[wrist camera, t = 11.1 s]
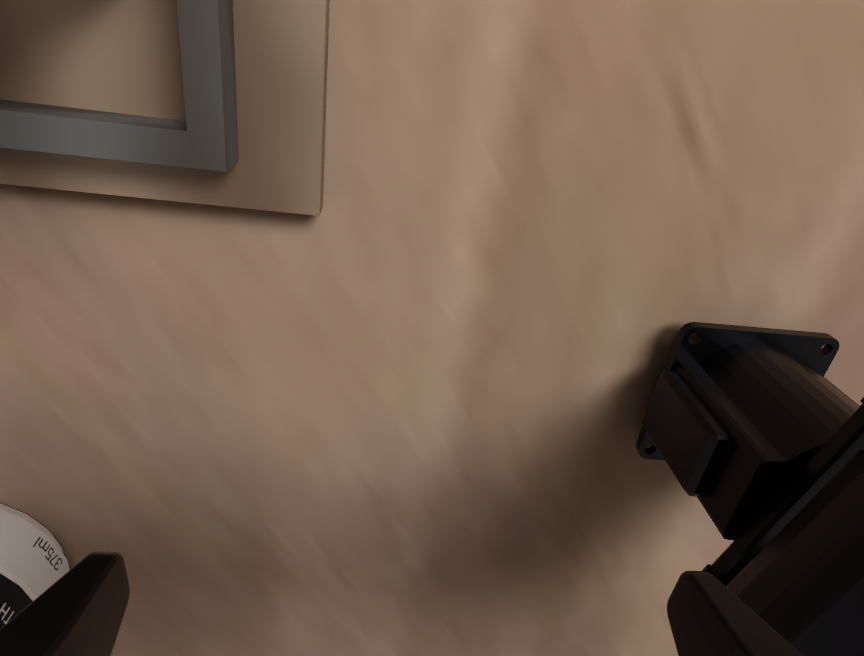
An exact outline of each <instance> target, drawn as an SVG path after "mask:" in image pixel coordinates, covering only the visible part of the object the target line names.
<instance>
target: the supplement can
mask: <svg viewBox="0 0 864 656" xmlns="http://www.w3.org/2000/svg"><path fill="white" fill-rule="evenodd" d="M68 571H69V566H68V561H67V559H66V557H65V556H64V555H63V550H62V547H61V546H60V545H59V543H58V542H57V541H56V539H55V538H54V537H53V535H52V534H51V533H50V531H49V530H48V529H46V528H45V527H44V526H42V525H41V524H39V523H38V522H37V521H35V520H34V519H32V518H31V517H30V516H28V515H27V514H25V513H23V512H20V511H18V510H15V509H13V508H10V507H8V506H5V505H3V504H1V503H0V629H1V628H2V627H3V626H4V625H5V624H7V623H8V622H9V621H10V620H11V619H13V618H14V617H15V616H16V615H17V614H18V613H20V612H21V611H22V610H23V609H24V608H26V607H27V606H28V605H29V604H30V603H31V602H33V601H34V600H35V599H36V598H37V597H39V596H40V595H41V594H42V593H43V592H45V591H46V590H47V589H48V588H49V587H50V586H52V585H53V584H54V583H55V582H56V581H58V580H59V579H60V578H61V577H62V576H63V575H65V574H66V573H67V572H68Z"/></svg>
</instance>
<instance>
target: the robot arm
mask: <svg viewBox="0 0 864 656" xmlns="http://www.w3.org/2000/svg"><path fill="white" fill-rule="evenodd" d="M693 333H697V334H696V335H695V337H693V338H692V339H689V337H690V336H691V335H692V334H693ZM825 344H826V345H825ZM824 345H825V346H824ZM822 346H824V347H823V348H822ZM838 349H839V342H838V341H837V340H836V339H835V338H833V337H832V336H831V335H829V334H826V333H816V332H804V331H793V330H781V329H769V328H758V327H746V326H735V325H723V324H711V323H700V322H690V323H687V324H685V325H684V326H683V327H681V328H680V330H679V332H678V334H677V337H676V339H675V342H674V344H673V347H672V350H671V352H670V355H669V358H668V360H667V363H666V366H665V368H664V371H663V372H662V373H661V375H660V376H659V379H658V381H657V384H656V387H655V389H654V392H653V395H652V397H651V400H650V403H649V405H648V408H647V411H646V413H645V416H644V418H643V421H642V423H643V426H642V429H641V431H640V434H639V437H638V439H637V442H636V449H637V451H638V453H639V454H640V456H641V457H642V458H645V459H657V460H666V462H667V463H668V465H669V467H670V468H671V470H672V471H673V473H674V475H675V476H676V478H677V479H678V481H679V482H680V484H681V486H682V487H683V489H684V490H685V492H686V493H687V494H688V495H689V496H697V498H698V499H699V501H700V502H701V504H702V505H703V507H704V508H705V510H706V511H707V513H708V515H709V516H710V518H711V519H712V521H713V522H714V524H715V525H716V527H717V528H718V530H719V532H720V533H721V535H722V536H723V537H724V539H728V540H734V541H733V542H732V543H731V545H730V546H729V547H728V548H727V549H726V550H725V551H724V552H723V553H722V554H721V555H720V556H719V557H718V558H717V559H716V561H715V562H714V563H713V564H712V565H707V566H706V567H705V568H704V569H703V570H702V571H685V572H683V573H682V574H681V576H680V577H679V579H678V581H677V583H676V585H675V587H674V589H673V591H672V593H671V595H670V597H669V600H668V603H667V614H668V619H669V622H670V626H671V630H672V633H673V637H674V641H675V644H676V648H677V652H678V655H679V656H864V397H863V398H862V399H861V402H862V403H863V404H862V405H861V406H859V405H858V404H857V403H855V402H854V401H853V400H852V399H850V398H849V397H848V396H847V395H846V394H844V393H843V392H842V391H841V390H839V389H838V388H837V387H836V386H834V385H833V384H832V383H831V382H830V381H828V380H827V379H826V378H825V377H824V375H825V373H826V371H827V370H828V368H829V366H830V364H831V362H832V360H833V359H834V357H835V355H836V353H837V351H838ZM651 445H652V446H651ZM648 446H651V447H649V448H646V447H648ZM128 599H129V583H128V578H127V573H126V568H125V563H124V559H123V556H122V555H121V554H120V553H117V552H94V553H91V554H89V555H87V556H86V557H85V558H84V559H82V560H81V561H80V562H79V563H78V564H76V565H75V566H74V567H73V568H72V569H71V570H69V571H68V572H67V573H66V574H65V575H63V576H62V577H61V578H60V579H59V580H58V581H56V582H55V583H54V584H53V585H52V586H50V587H49V588H48V589H47V590H46V591H45V592H43V593H42V594H41V595H40V596H39V597H37V598H36V599H35V600H34V601H33V602H31V603H30V604H29V605H28V606H27V607H26V608H24V609H23V610H22V611H21V612H20V613H18V614H17V615H16V616H15V617H14V618H13V619H11V620H10V621H9V622H8V623H7V624H5V625H4V626H3V627H2V628H1V629H0V656H111V652H112V649H113V646H114V643H115V640H116V637H117V634H118V631H119V628H120V625H121V622H122V619H123V616H124V613H125V610H126V606H127V603H128Z"/></svg>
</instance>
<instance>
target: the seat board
mask: <svg viewBox="0 0 864 656" xmlns="http://www.w3.org/2000/svg"><path fill="white" fill-rule="evenodd" d="M328 27H329V0H0V184H9V185H18V186H28V187H38V188H48V189H58V190H68V191H78V192H88V193H98V194H108V195H117V196H127V197H137V198H147V199H157V200H167V201H177V202H187V203H197V204H206V205H216V206H226V207H236V208H246V209H256V210H266V211H276V212H286V213H296V214H305V215H315V216H319V215H320V213H321V210H322V208H323V182H324V151H325V120H326V89H327V58H328Z"/></svg>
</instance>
